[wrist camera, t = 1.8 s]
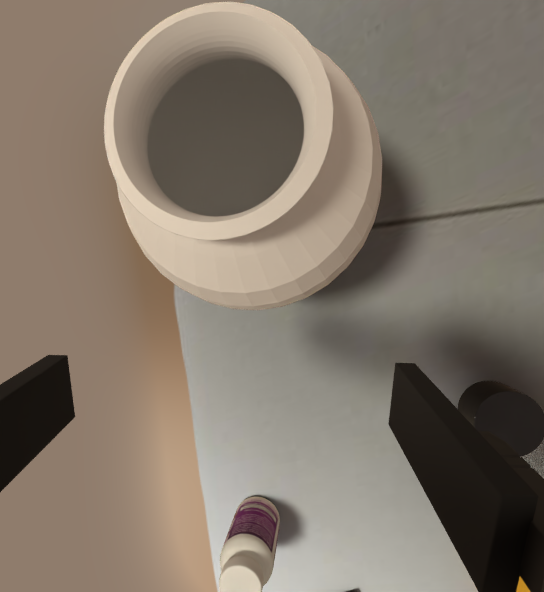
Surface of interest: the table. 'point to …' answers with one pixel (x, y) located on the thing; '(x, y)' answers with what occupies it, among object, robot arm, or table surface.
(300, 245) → the vase
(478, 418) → the metal tin
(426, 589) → the table surface
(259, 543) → the pill bottle
